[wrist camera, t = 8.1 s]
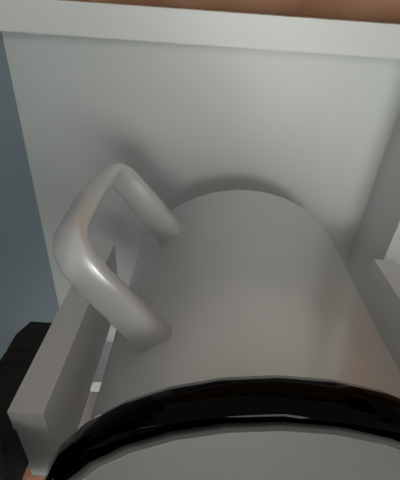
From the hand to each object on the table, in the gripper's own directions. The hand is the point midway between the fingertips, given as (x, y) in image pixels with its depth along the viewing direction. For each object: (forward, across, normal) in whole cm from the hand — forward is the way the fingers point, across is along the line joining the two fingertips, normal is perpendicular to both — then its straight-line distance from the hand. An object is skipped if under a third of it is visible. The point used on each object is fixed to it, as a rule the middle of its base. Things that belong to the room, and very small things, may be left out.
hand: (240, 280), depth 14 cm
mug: (+2, -1, 0) cm, 2 cm away
